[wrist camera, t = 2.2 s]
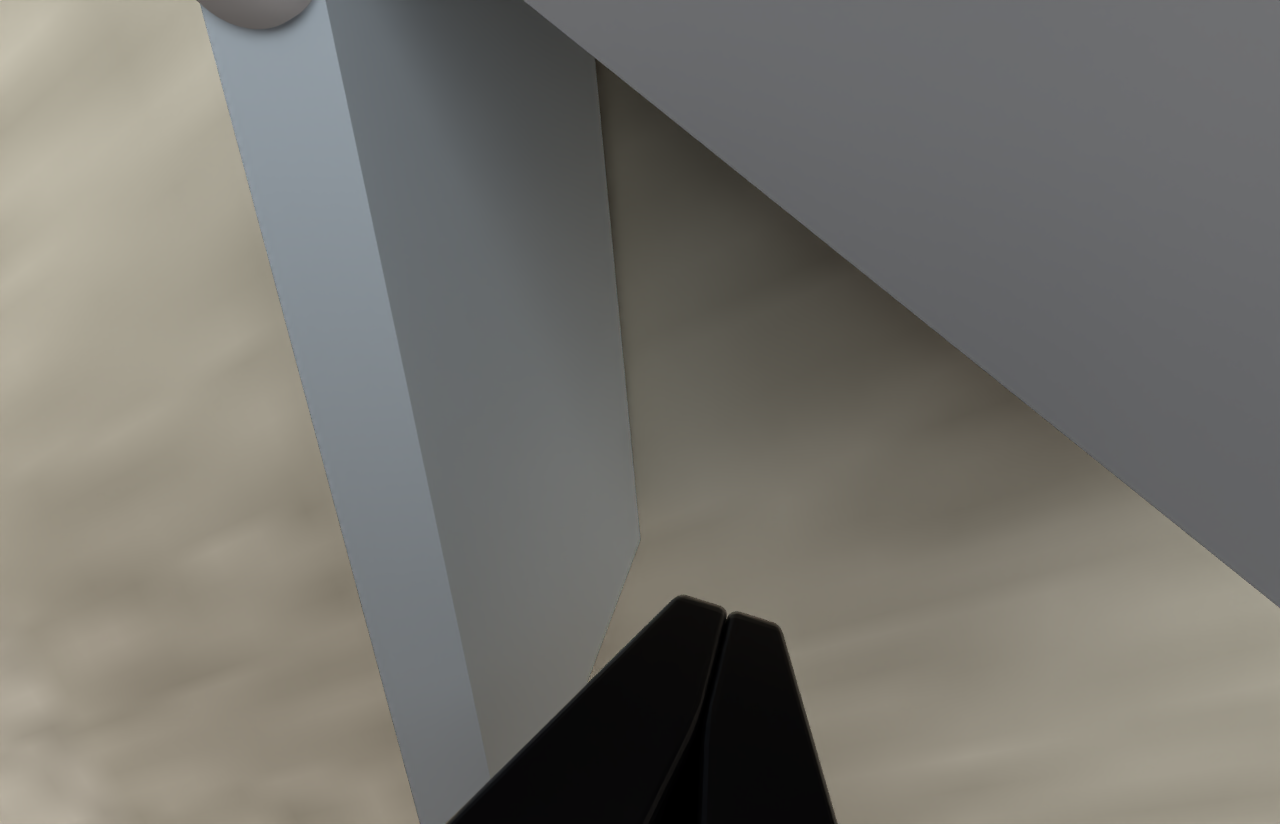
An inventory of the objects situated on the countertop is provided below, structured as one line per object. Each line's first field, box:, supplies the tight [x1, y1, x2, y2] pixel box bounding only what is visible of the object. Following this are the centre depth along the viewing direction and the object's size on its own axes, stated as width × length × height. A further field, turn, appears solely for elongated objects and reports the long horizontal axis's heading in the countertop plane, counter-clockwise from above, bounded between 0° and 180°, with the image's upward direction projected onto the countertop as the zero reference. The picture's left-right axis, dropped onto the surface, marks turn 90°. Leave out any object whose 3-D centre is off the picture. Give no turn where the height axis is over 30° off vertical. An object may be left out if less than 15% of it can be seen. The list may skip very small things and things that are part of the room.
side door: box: [197, 0, 641, 824], centre depth 11 cm, size 1×9×5 cm, turn 4°
